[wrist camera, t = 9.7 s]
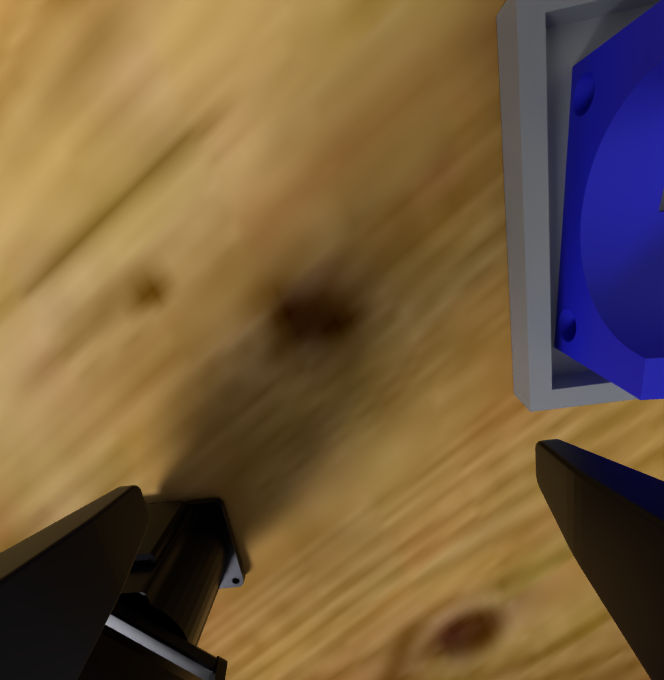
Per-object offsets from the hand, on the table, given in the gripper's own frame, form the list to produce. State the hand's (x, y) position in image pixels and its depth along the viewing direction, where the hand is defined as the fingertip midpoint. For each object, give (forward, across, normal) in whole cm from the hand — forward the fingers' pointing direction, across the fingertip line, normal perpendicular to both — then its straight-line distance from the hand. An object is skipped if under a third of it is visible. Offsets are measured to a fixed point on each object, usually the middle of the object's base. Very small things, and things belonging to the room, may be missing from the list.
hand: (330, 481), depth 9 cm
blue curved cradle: (+11, -13, -4) cm, 18 cm away
